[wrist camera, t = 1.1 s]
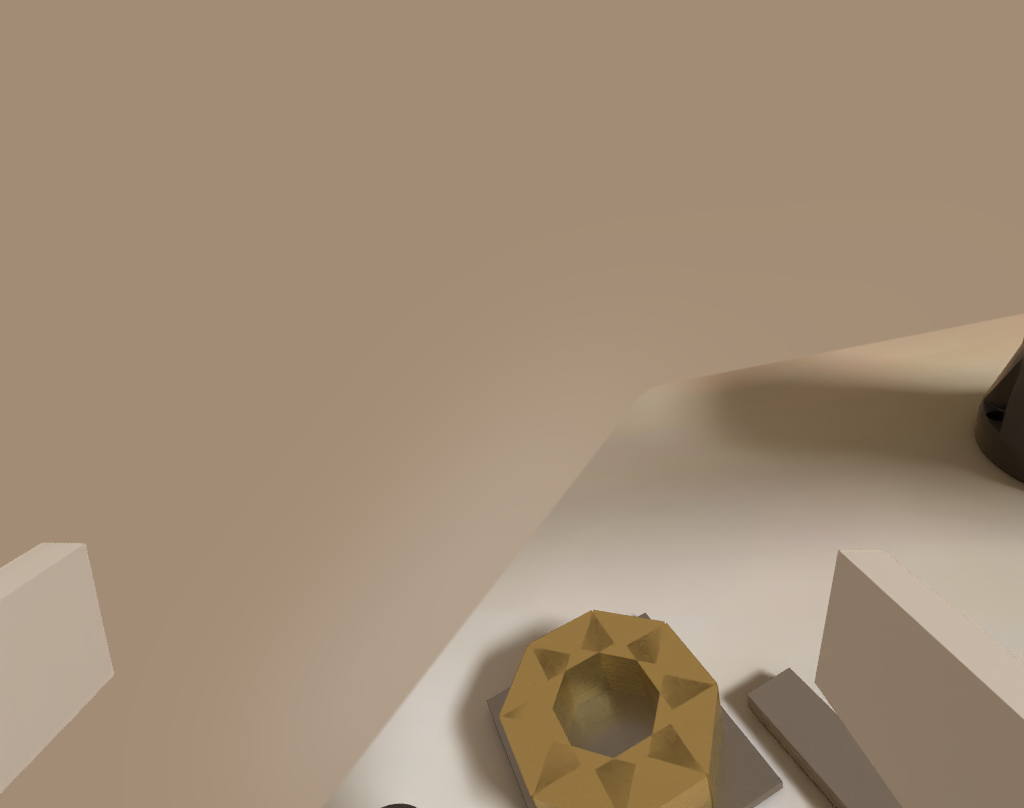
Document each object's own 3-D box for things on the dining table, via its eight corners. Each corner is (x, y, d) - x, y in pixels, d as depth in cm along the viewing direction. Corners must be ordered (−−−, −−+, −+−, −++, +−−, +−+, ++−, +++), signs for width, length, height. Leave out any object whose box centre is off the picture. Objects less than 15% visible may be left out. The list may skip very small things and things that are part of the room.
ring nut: (646, 618, 38) (637, 577, 36) (782, 787, 28) (780, 743, 26) (489, 706, 35) (470, 667, 33) (574, 928, 25) (555, 891, 23)
